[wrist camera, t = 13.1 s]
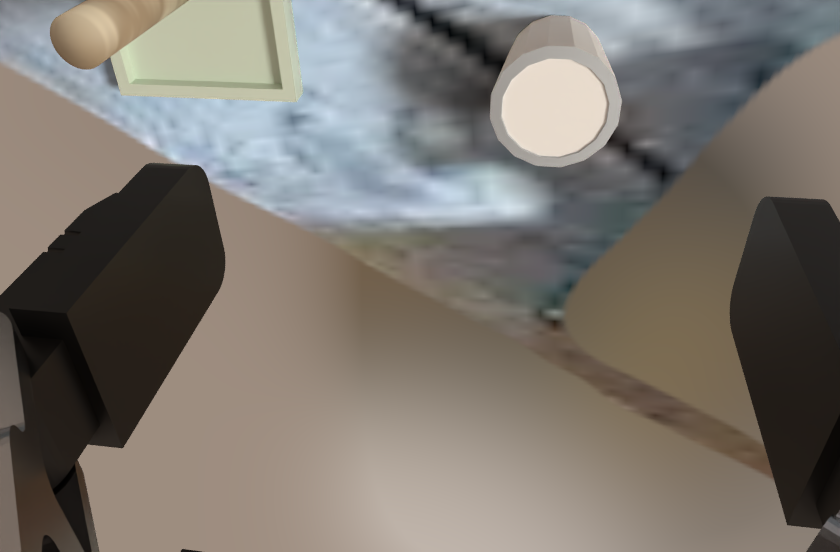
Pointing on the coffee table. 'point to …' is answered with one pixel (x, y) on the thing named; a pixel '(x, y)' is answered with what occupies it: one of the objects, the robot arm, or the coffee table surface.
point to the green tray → (215, 53)
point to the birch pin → (105, 28)
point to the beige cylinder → (555, 94)
